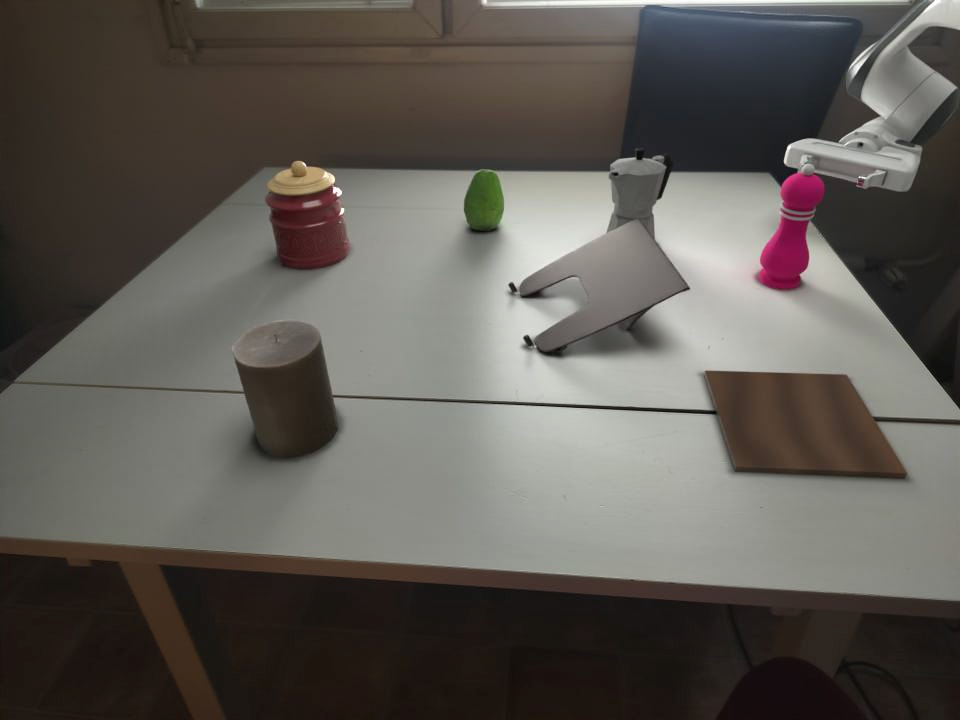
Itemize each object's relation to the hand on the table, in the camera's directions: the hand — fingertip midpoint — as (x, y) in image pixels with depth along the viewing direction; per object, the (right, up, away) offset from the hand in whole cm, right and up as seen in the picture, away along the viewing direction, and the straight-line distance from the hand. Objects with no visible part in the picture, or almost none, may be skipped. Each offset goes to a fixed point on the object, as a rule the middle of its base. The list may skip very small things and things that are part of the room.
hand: (831, 176), depth 108 cm
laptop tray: (-41, -23, -5) cm, 47 cm away
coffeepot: (-29, -9, +15) cm, 34 cm away
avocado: (-56, -5, +22) cm, 60 cm away
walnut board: (-19, -38, -27) cm, 50 cm away
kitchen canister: (-87, -11, +14) cm, 89 cm away
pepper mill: (-8, -17, +2) cm, 19 cm away
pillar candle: (-79, -39, -26) cm, 92 cm away
